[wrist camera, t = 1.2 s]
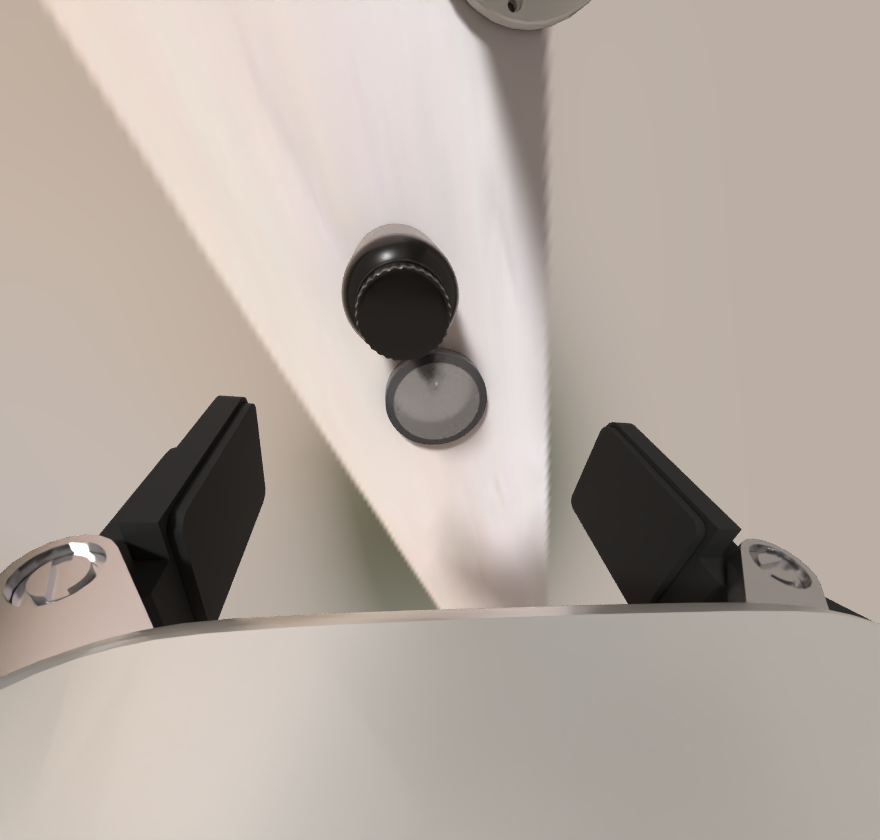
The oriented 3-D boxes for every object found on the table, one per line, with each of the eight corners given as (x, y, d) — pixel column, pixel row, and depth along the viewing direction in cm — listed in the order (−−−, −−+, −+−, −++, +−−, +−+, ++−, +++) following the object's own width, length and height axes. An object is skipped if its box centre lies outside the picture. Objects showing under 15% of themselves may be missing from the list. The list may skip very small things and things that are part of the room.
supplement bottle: (350, 218, 27) (329, 231, 16) (445, 227, 28) (482, 244, 17) (352, 315, 30) (337, 377, 20) (437, 320, 31) (464, 380, 21)
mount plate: (390, 342, 31) (390, 349, 30) (492, 354, 33) (497, 360, 32) (381, 433, 36) (381, 442, 34) (472, 439, 38) (475, 448, 36)
